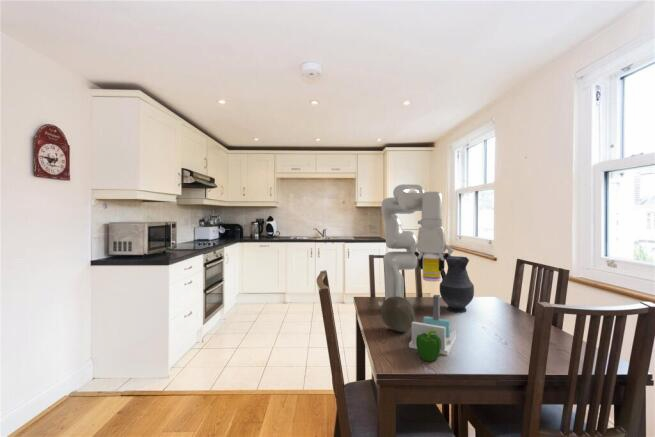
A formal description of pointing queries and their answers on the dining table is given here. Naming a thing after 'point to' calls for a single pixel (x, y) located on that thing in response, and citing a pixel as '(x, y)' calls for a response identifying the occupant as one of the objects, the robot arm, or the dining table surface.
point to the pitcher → (456, 284)
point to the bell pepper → (428, 346)
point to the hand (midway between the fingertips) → (431, 269)
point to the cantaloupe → (397, 313)
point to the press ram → (437, 316)
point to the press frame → (440, 332)
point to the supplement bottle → (431, 267)
